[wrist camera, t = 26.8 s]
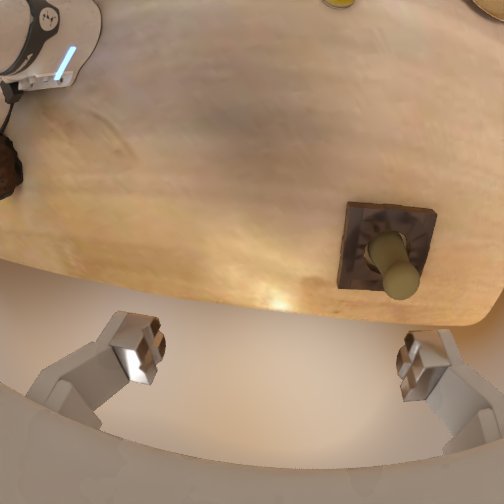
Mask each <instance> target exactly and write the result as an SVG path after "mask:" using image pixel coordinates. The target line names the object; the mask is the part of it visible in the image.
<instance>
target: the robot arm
mask: <svg viewBox="0 0 504 504" xmlns="http://www.w3.org/2000/svg"><path fill="white" fill-rule="evenodd" d="M100 29H101V15H100V11H99V8H98V6H97V5H96V4H95V3H94V2H93V1H92V0H0V76H1V77H2V82H1V83H0V86H1V89H2V91H3V94H4V96H5V102H6V103H7V104H10V110H9V112H8V115H7V117H6V119H5V121H4V123H3V125H2V127H1V129H0V135H1V134H2V132H3V130H4V128H5V126H6V124H7V123H8V120H9V117H10V114H11V111H12V108H13V105H14V102H18V101H19V99H20V98H21V97H22V95H23V94H24V92H26V91H33V90H40V89H49V88H59V87H69V86H71V85H72V84H73V83H74V81H75V78H76V76H77V73H78V71H79V69H80V68H81V66H82V65H83V64H84V63H85V61H86V60H87V59H88V58H89V56H90V55H91V53H92V51H93V50H94V48H95V46H96V43H97V41H98V38H99V34H100ZM160 326H161V324H160V321H159V318H157V317H154V316H148V315H142V314H136V313H129V312H123V311H117V312H115V313H114V315H113V316H112V318H111V319H110V321H109V322H108V324H107V325H106V327H105V328H104V330H103V331H102V333H101V334H100V336H99V337H98V339H97V341H96V342H90V343H89V344H87V345H85V346H83V347H82V348H80V349H78V350H76V351H75V352H73V353H71V354H69V355H67V356H66V357H64V358H62V359H60V360H59V361H57V362H55V363H54V364H52V365H50V366H48V367H46V368H45V369H43V370H42V371H41V372H40V374H39V375H38V377H37V378H36V380H35V381H34V383H33V385H32V386H31V388H30V389H29V391H28V392H27V394H26V396H23V395H22V394H20V393H18V392H16V391H14V390H13V389H11V388H9V387H7V386H6V385H4V384H3V383H1V382H0V504H504V395H503V394H502V393H501V392H500V391H499V390H498V389H496V388H495V387H494V386H493V385H492V384H491V383H490V382H488V381H487V380H486V379H485V378H484V377H482V376H481V375H480V374H479V373H478V372H476V371H475V370H474V369H473V368H472V367H471V366H469V365H468V364H467V365H465V364H464V362H463V360H462V357H461V354H460V352H459V350H458V347H457V345H456V343H455V340H454V338H453V336H452V334H451V332H450V330H448V329H439V330H419V331H409V332H408V333H407V334H406V336H405V338H404V340H405V345H404V346H403V347H401V348H400V350H399V353H398V355H397V362H396V368H397V374H398V376H399V377H400V378H401V379H402V380H403V381H402V384H401V385H400V388H401V392H402V397H403V401H404V402H407V401H420V400H426V401H425V402H426V403H427V404H428V405H429V407H430V408H431V409H432V410H433V411H434V413H435V414H436V415H437V416H438V418H439V419H440V420H441V421H442V423H443V424H444V425H445V426H446V428H447V429H448V430H449V431H450V433H451V434H452V435H453V438H452V439H451V440H450V441H449V442H448V443H447V444H445V446H444V447H443V454H444V455H443V456H438V457H434V458H428V459H424V460H418V461H412V462H405V463H398V464H391V465H382V466H373V467H361V468H344V469H289V468H272V467H260V466H250V465H241V464H234V463H226V462H220V461H214V460H207V459H202V458H197V457H192V456H187V455H183V454H178V453H173V452H169V451H165V450H161V449H158V448H153V447H150V446H147V445H143V444H139V443H136V442H133V441H129V440H127V439H123V438H120V437H117V436H114V435H111V434H109V433H106V432H103V431H100V430H99V429H100V427H101V425H102V423H101V420H100V419H99V418H98V417H97V416H96V415H95V413H94V412H93V411H95V410H96V409H97V408H98V407H100V406H101V405H102V404H103V403H105V402H106V401H107V400H108V399H109V398H111V397H112V396H113V395H114V394H116V393H117V392H118V391H119V390H120V389H122V388H123V387H124V386H125V385H127V384H128V383H129V381H132V382H137V383H142V384H147V385H151V384H152V382H153V380H154V377H155V375H156V373H157V368H156V364H157V363H159V362H160V361H162V359H163V357H164V354H165V347H166V342H165V337H164V334H163V333H161V332H160V331H159V328H160Z"/></svg>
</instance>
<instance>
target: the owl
mask: <svg viewBox="0 0 504 504" xmlns="http://www.w3.org/2000/svg"><path fill="white" fill-rule="evenodd" d="M22 182H23V171H22V163H21V162H20V160H19V159H18V158H17V152H16V151H15V150H14V148H13V142H12V141H10V139H9V138H8V137H5V136H3V135H2V134H1V135H0V200H2V199H4V198H6V197H8V196H10V195H11V194H12V193H13V192H14V189H15V187H16V186H17V185H19V184H21V183H22Z"/></svg>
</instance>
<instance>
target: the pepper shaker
mask: <svg viewBox="0 0 504 504" xmlns="http://www.w3.org/2000/svg"><path fill="white" fill-rule="evenodd" d="M368 253H369V256H370V257H371V259H372V260H373V262H374V264H375V265H376V267H377V268H378V270H379V271H380V273H381V275H382V276H383V287H384V290H385V292H386V293H387V294H388V296H389V297H391V298H393V299H395V300H405V299H407V298H409V297H411V296H412V295H414V293H415V292H416V291H417V289H418V287H419V283H420V277H419V273H418V271H417V269H416V268H415V267H414V266H413V265H412V264H410V262H409V259H408V256H407V252H406V249H405V246H404V243H403V240H402V237H401V236H400V234H399V233H398V232H396V231H385V232H382V233H379V234H377V235H376V236H375V237H373V238H372V239H371V240H370V241H369V243H368Z"/></svg>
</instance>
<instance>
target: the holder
mask: <svg viewBox="0 0 504 504" xmlns="http://www.w3.org/2000/svg"><path fill="white" fill-rule="evenodd" d="M436 218H437V214H436V213H435V212H434V211H433V210H432V209H424V208H415V207H404V206H401V205H391V204H370V203H356V202H347V211H346V219H345V228H344V235H343V237H342V244H341V252H340V253H341V257H340V264H339V271H338V277H337V286H338V289H357V290H371V291H385V290H384V287H383V276H382V275H381V273H380V271H379V270H378V268H377V267H375V266H373V265H371V264H369V263H368V262H367V261H366V260H365V258H364V253H365V247H366V246H367V244H368V243H369V241H370V240H371V239H372V238H373V237H375V236H376V235H377V234H379V233H382V232H385V231H397V232H399V233H401V234H403V235H405V237H406V241H407V246H406V252H407V256H408V259H409V262H410V264H412V265H413V266H414V267H415V268H416V269H417V271H418V273H419V277H421V274H422V270H423V267H424V264H425V263H426V259H427V256H428V252H429V249H430V242H431V239H432V235H433V231H434V227H435V222H436Z"/></svg>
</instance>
